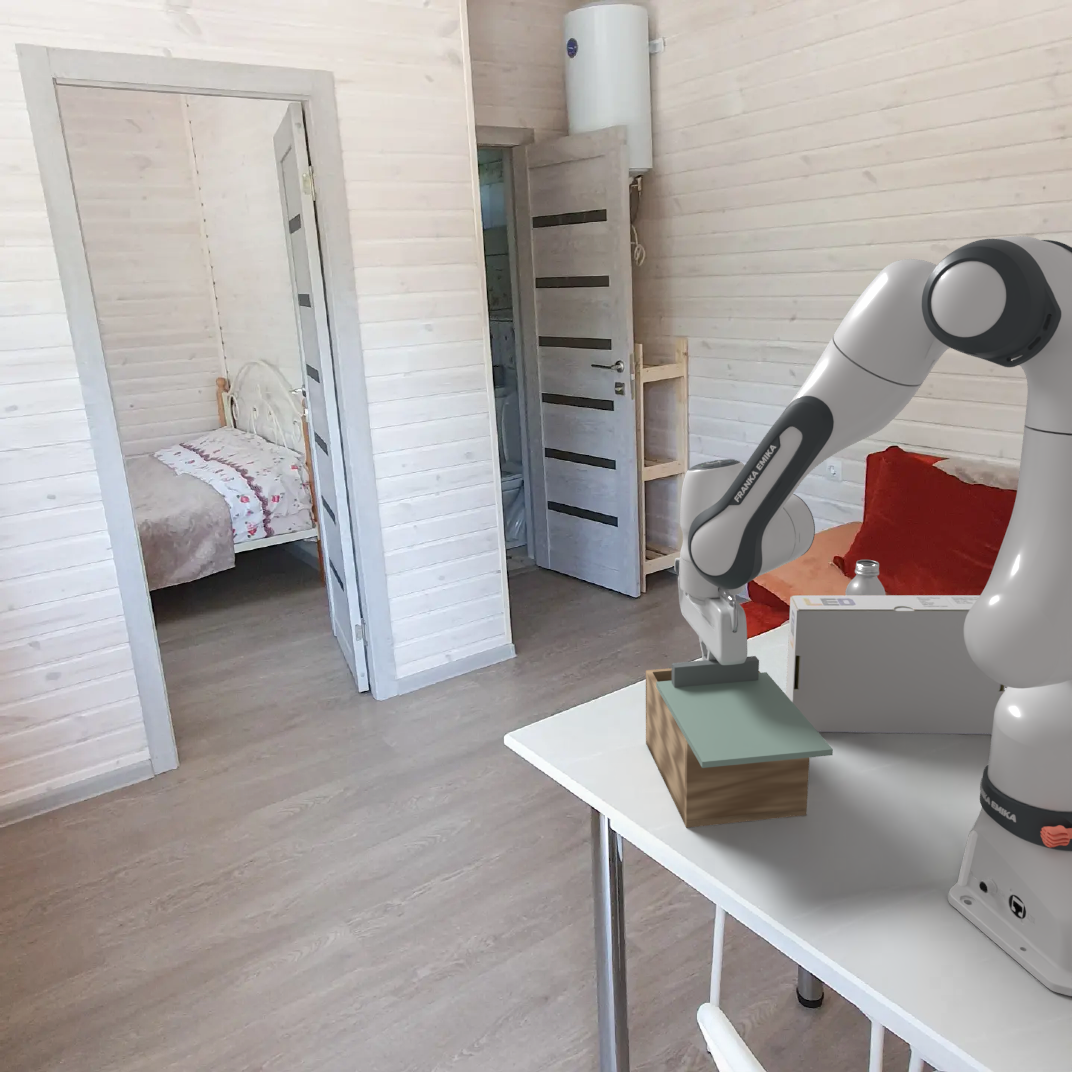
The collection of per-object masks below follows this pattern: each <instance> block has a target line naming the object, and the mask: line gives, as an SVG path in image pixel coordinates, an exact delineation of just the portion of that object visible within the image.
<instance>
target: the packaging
mask: <svg viewBox="0 0 1072 1072" xmlns="http://www.w3.org/2000/svg"><path fill="white" fill-rule="evenodd" d="M980 595H981V594H980ZM980 595H979V594H977V595H974V594H973V595H969V594H967V595H966V594H965V595H959V594H958V595H956V594H954V595H952V594H951V595H950V594H949V595H948V594H947V595H945V594H944V595H938V594H937V595H936V594H935V595H933V594H932V595H928V594H927V595H925V594H923V595H919V594H918V595H917V594H914V595H907V594H905V595H902V594H901V595H899V594H898V595H897V594H895V595H894V594H893V595H889V594H888V595H846V594H845V595H842V594H840V595H835V594H834V595H833V594H831V595H827V594H826V595H824V594H823V595H817V594H816V595H813V594H812V595H804V594H803V595H791V596H790V598H789V620H788V623H789V624H788V645H787V662H786V663H787V665H786V667H787V668H786V687H785V690H786V691H785V694H786V695H787V697H788V698H789V699H790V700H791V701H792V702H793V704H794V705H795V706H796V707H797V708H798V709H799V711H800V712H801V713H802V714H803V715H804V716H805V717H806V719H807V720H808V721H809V722H810V723H811V724H812V726H813V727H814V728H815V729H816V730H817V731H818V733H857V734H858V733H859V734H860V733H863V734H865V733H868V734H870V733H871V734H872V733H874V734H925V735H926V734H927V735H928V734H934V735H936V734H937V735H942V734H943V735H991V736H992V729H993V720H994V712H995V708H996V705H997V703H998V701H999V699H1000V697H1001V695H1002V694H1003V693H1004V691H1005V690H1006V688H1005V687H1006V686H1004V685H1002V684H999V683H997V682H995V681H994V680H992V679H990V678H989V677H988V676H986V675H985V674H984V673H983V672H982V671H981V670H980V669H979V668H978V667H977V666H976V664H975V663H974V662H973V660H972V659H971V657H970V655H969V653H968V651H967V648H966V645H965V641H964V623H965V619H966V616H967V614H968V612H969V610H970V609H971V608H972V606H973V605H974V604H975V602H976V601H977V599H978V598H979V597H980Z"/></svg>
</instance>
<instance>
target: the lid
mask: <svg viewBox="0 0 1072 1072" xmlns="http://www.w3.org/2000/svg"><path fill="white" fill-rule="evenodd" d="M671 668H672V680H671V681H660V682H656V688H657V689H658V691H659V693H660V695H661V696H662V698H663V700H664V702H665V703H666V705H667V707H668V709H669V710H670V712H671V714H672V716H673V717H674V719H675V721H676V723H677V725H678V726H679V728H680V730H681V732H682V733H683V735H684V737H685V739H686V740H687V742H688V744H689V746H690V747H691V749H692V751H693V753H694V754H695V756H696V758H697V760H698V762H699V763H700V765H701V767H702V768H707V767H718V766H728V765H738V764H748V763H759V762H769V761H779V760H789V759H799V758H809V759H810V758H816V757H817V758H818V757H829V756H833V755H834V754H833V753H834V751H833V750H834V749H833V748H832V746H831V744H829V743H828V742H827V741H826V739H825V738H824V737H823V736H822V735H821V734H820V732H818V731H817V730H816V729H815V728H814V727H813V726H812V724H811V723H810V722H809V721H808V720H807V719H806V717H805V716H804V715H803V714H802V713H801V712H800V711H799V709H798V708H797V707H796V706H795V705H794V704H793V702H792V701H791V700H790V699H789V698H788V697H787V695H786V692H784V691H783V689H782V688H780V686H779V685H778V684H777V683H776V681H775V680H774V679H773V678H772V676H770V675H769V673H768V672H767V671H766V672H760V673H759V671H760V660H759V658H758V657H757V656H756V655H754V656H753V655H751V656H747V658H746V661H745V662H744V663H742V664H734V665H721V664H720V663H719V662H718V661H717V659H716V660H703V661H702V660H693V661H682V662H681V661H680V662H672V663H671Z"/></svg>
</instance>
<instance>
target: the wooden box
mask: <svg viewBox="0 0 1072 1072" xmlns="http://www.w3.org/2000/svg"><path fill="white" fill-rule="evenodd" d="M759 673H761V671H760V670H759ZM671 680H672V667H670V668H658V669H656V668H655V669H647V670H645V745H646V747H647V750H648V751H649V753H650V755H651V757H652V758H653V761H654V763H655V765H656V767H657V770H658V771H659V774H660V776H661V778H662V780H663V782H664V785H665V787H666V789H667V791H668V792H669V795H670V796H671V799H672V801H673V803H674V806H675V807H676V809H677V811H678V813H679V816H680V817H681V820H682V822H683V824H684V826H685V828H687V829H688V828H698V827H708V826H715V825H725V824H726V825H727V824H735V823H742V822H743V823H744V822H755V821H764V820H773V819H782V818H784V819H785V818H791V817H801V816H803V817H804V816H807V815H808V814H807V813H808V812H807V811H808V794H809V791H808V790H809V777H810V776H809V775H810V774H809V773H810V758H799V759H789V760H779V761H769V762H759V763H748V764H738V765H728V766H718V767H707V768H702V767H701V765H700V763H699V762H698V760H697V758H696V756H695V754H694V753H693V751H692V749H691V747H690V746H689V744H688V742H687V740H686V739H685V737H684V735H683V733H682V732H681V730H680V728H679V726H678V725H677V723H676V721H675V719H674V717H673V716H672V714H671V712H670V710H669V709H668V707H667V705H666V703H665V702H664V700H663V698H662V696H661V695H660V693H659V691H658V689H657V688H656V682H660V681H671Z"/></svg>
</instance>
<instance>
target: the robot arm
mask: <svg viewBox="0 0 1072 1072" xmlns="http://www.w3.org/2000/svg"><path fill="white" fill-rule="evenodd" d="M950 348H951V350H952V349H953V350H954V351H956V352H959V353H962V354H966V355H968V356H971V357H975V358H978V359H982V360H984V361H987V362H990V363H993V364H996V365H998V366H1002V367H1004V368H1015V367H1018V366H1020V368H1021V369H1022V370H1023V372H1024V374H1025V377H1026V384H1027V397H1026V398H1027V400H1026V407H1025V416H1024V417H1025V418H1024V425H1023V434H1022V435H1023V436H1022V444H1021V445H1022V446H1021V454H1020V464H1019V472H1018V482H1017V490H1016V495H1015V500H1014V501H1015V502H1014V504H1013V509H1012V512H1011V516H1010V520H1009V523H1008V526H1007V528H1006V532H1005V535H1004V537H1003V540H1002V543H1001V545H1000V549H999V551H998V553H997V557H996V560H995V562H994V565H993V567H992V570H991V572H990V573H991V574H990V575H989V578H988V580H987V582H986V585H985V587H984V589H983V590H982V592H981V593H980V597H979V598H978V599H977V601H976V602H975V604H974V605H973V606H972V608H971V609H970V610H969V612H968V614H967V616H966V619H965V623H964V641H965V645H966V648H967V651H968V653H969V655H970V657H971V659H972V660H973V662H974V663H975V664H976V666H977V667H978V668H979V669H980V670H981V671H982V672H983V673H984V674H985V675H986V676H988V677H989V678H990V679H992V680H994V681H995V682H997V683H999V684H1002V685H1004V686H1005V687H1006V688H1005V690H1004V693H1003V694H1002V695H1001V697H1000V699H999V701H998V703H997V705H996V708H995V712H994V720H993V729H992V735H991V737H990V738H991V740H990V748H989V757H988V764H987V765H986V766H985V767H984V769H983V772H982V778H981V779H980V785H979V794H980V795H979V803H980V805H981V808H980V811H979V814H978V816H977V818H976V820H975V822H974V824H973V826H972V828H971V829H970V831H969V835H968V837H967V842H966V845H965V849H964V854H963V857H962V862H961V866H960V870H959V874H958V879H957V881H956V882H955V883H954V884H953V885H952V887H950V888H949V892H948V894H947V901H948V903H949V904H950V905H951V906H952V907H954V909H955V910H957V911H958V912H959V913H960V914H961V915H962V916H963V917H965V918H966V919H967V920H969V922H970V923H972V924H973V925H974V926H975V927H976V928H977V929H979V930H980V931H981V932H982V933H983V934H984V935H986V936H987V937H988V938H989V939H990V940H991V941H992V942H994V943H995V944H996V945H997V946H998V947H1000V948H1001V949H1002V950H1003V951H1004V952H1005V953H1007V955H1009V956H1010V958H1012V959H1014V960H1015V961H1016V962H1017V963H1018V964H1019V965H1020V966H1022V968H1024V969H1025V970H1026V971H1027V972H1028V973H1030V974H1031V975H1032V976H1033V977H1034V978H1035V979H1036V980H1038V981H1039V983H1041V984H1042V985H1044V987H1046V988H1047V989H1048V990H1050V991H1052V992H1053V993H1058V994H1060V995H1061V994H1062V995H1065V996H1069V997H1072V246H1070V245H1068V244H1065V243H1063V242H1060V241H1056V240H1050V239H1038V238H1036V237H1030V236H1024V235H1022V236H1021V235H1018V236H1017V235H1016V236H1003V237H999V238H984V239H978V240H974V241H971V242H969V243H967V244H965V245H962V246H960V247H958V248H957V249H955V250H953V251H951V252H950V253H949V254H947V255H946V256H945V257H944V258H942V260H940V262H939V263H937V264H936V263H933V262H931V261H930V262H929V261H928V260H923V259H916V258H907V259H906V258H904V259H900V260H896V261H893V262H891V263H889V264H887V265H886V266H885V267H884V268H882V269H881V270H880V271H879V273H877V275H876V276H875V277H874V279H873V280H872V281H871V282H870V283H869V284H868V285H867V286H866V288H865V289H864V290H863V291H862V293H861V294H860V296H858V298H857V299H856V301H854V303H853V305H852V306H851V307H850V309H849V310H848V312H847V313H846V314H845V316H844V318H842V320H841V322H840V324H839V325H838V327H837V328H836V331H834V334H833V335H832V336H831V338H830V340H829V342H828V343H827V346H826V347H825V349H824V350H823V352H822V353H821V355H820V357H819V358H818V360H817V362H816V363H815V365H814V366H813V368H812V370H811V371H810V372H809V374H808V376H807V377H806V379H805V381H803V383H802V385H801V387H800V388H799V389H798V391H797V393H796V394H795V395H793V398H792V399H791V401H790V402H789V404H787V406H786V408H785V409H784V410H783V411H782V413H781V415H780V416H779V417H778V418H777V420H775V422H774V424H773V425H772V426H771V427H770V428H769V430H768V431H767V432H766V434H765V435H764V437H763V439H762V440H761V441H760V443H759V444H758V446H757V447H756V448H755V450H754V451H753V452H752V454H751V456H750V457H749V459H747V461H746V463H745V464H744V463H743V462H742V461H740V460H736V459H731V458H729V459H728V458H727V459H726V458H725V459H717V460H712V461H711V460H710V461H705V462H701V463H698V464H696V465H692V466H690V468H689V469H688V470H687V471H686V473H685V475H684V478H683V482H682V486H681V493H680V505H679V506H680V509H679V510H680V511H679V512H680V513H679V514H680V515H679V517H680V518H679V525H680V530H681V532H682V543H681V547H680V551H679V552H680V553H679V557H675V558H674V563H673V564H674V568H673V569H674V571H675V573H676V575H677V585H678V586H677V587H678V603H679V607H680V608H679V609H680V612H681V614H682V616H683V617H684V619H685V620H686V622H687V623H688V624H689V626H690V627H691V628H692V630H693V631H694V632H695V633H696V635H697V636H698V641H699V645H700V650H701V661H703V660H716V659H717V661H718V662H719V663H720V664H721V665H734V664H742V663H744V662H745V661H746V658H747V657H748V628H747V617H746V612H745V610H744V608H743V606H742V605H741V604H740V603H739V602H738V601H737V598H736V595H737V596H738V595H739V594H741V593H743V592H744V591H745V589H746V585H747V584H748V583H750V582H751V581H754V580H755V579H757V577H761V576H763V575H764V574H767V573H769V572H771V571H774V570H776V569H779V568H780V567H781V566H784V565H786V564H789V563H791V562H793V561H795V560H797V559H799V558H801V557H802V556H804V555H805V554H806V553H808V551H809V550H810V548H811V547H812V545H813V543H814V540H815V534H816V526H815V519H814V516H813V513H812V511H811V509H810V507H809V506H808V504H806V502H805V501H804V499H802V498H801V497H800V496H798V495H796V494H794V493H795V492H796V490H797V489H798V487H799V486H800V485H801V483H802V482H803V480H805V478H806V477H807V476H808V475H809V474H810V473H811V472H812V471H814V469H816V468H817V467H818V466H819V465H820V464H821V463H823V462H824V461H826V460H828V459H830V458H831V457H832V456H834V455H836V454H837V453H839V452H841V451H842V450H845V449H847V448H848V447H850V446H852V445H854V444H856V443H858V442H861V441H862V440H865V439H867V438H869V437H871V436H873V435H875V434H877V433H878V432H880V431H882V430H883V429H884V428H886V427H887V426H888V425H889V424H890V423H891V422H892V421H893V420H894V419H895V418H896V417H897V416H898V415H899V414H900V413H901V412H902V411H903V410H904V409H905V408H906V407H907V406H908V404H909V403H910V402H911V400H912V399H913V397H914V396H915V395H916V393H917V392H918V390H920V388H921V387H922V385H923V383H924V381H926V379H927V378H928V376H929V375H930V372H931V371H932V370H933V368H934V367H935V365H936V364H937V362H938V361H939V359H940V358H941V357H942V356H943V355H944V354H945V353H946V351H947V350H949V349H950Z"/></svg>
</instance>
